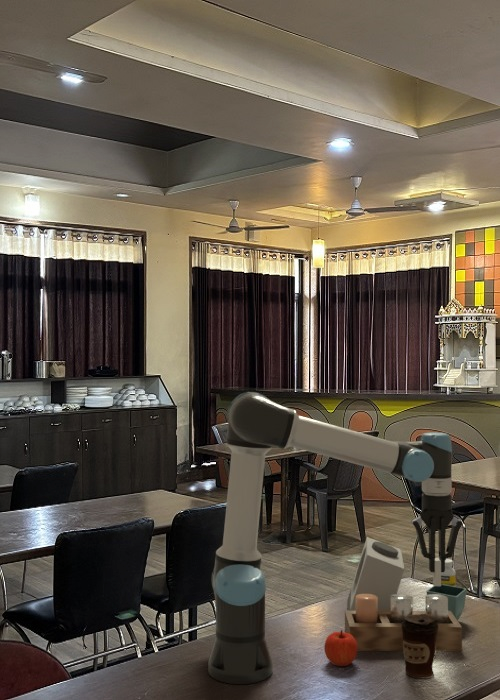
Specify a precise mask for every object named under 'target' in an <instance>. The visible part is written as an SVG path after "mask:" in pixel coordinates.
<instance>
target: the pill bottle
mask: <svg viewBox="0 0 500 700" xmlns="http://www.w3.org/2000/svg"><path fill="white" fill-rule="evenodd" d="M453 565H454V562H453V559H451V558H447V559H446V560H445V572H441V584H444V585H449V586H455V587H457V585H456V584H457V583H456V582H457V581H456V580H457V579H456V578H457V577H456V576H457V572H456V570H455V569H454V568H453Z"/></svg>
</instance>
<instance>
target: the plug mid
mask: <svg viewBox="0 0 500 700" xmlns="http://www.w3.org/2000/svg"><path fill="white" fill-rule="evenodd" d="M413 603H414V598H413V596H412V595H409V594H406V593H397V594H394V595H391V623H402V622H403V621H404V618H405V616H407V615H413V611H414V609H413V608H414V606H413V605H414V604H413Z"/></svg>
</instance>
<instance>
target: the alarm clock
mask: <svg viewBox="0 0 500 700" xmlns="http://www.w3.org/2000/svg"><path fill="white" fill-rule="evenodd" d="M402 553H403V552H402V549H400V548H398V547H395V546H392V545H390V544H388V543H385V542H383V541H382V542H381V541H380V540H377V539H374V538H370V537H369V536H366V539H365V542H364V545H363V547H362V551H361V555H360V559H359V561H358V564H357V568H356V571H355V574H354V578H353V580H352V585H351V587H350V591H349V594H348V598H347V603H346V610H351V611H356V595H359V594H372V595H375V596H377V597H378V611H391V595H394V594H398V590H399V588H400V585H401V581H402V578H403V574H404V572H405V566H404V559H403V554H402Z"/></svg>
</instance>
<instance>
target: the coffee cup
mask: <svg viewBox="0 0 500 700" xmlns="http://www.w3.org/2000/svg"><path fill="white" fill-rule="evenodd" d="M435 621H436V619H435V618H433V617H431V616H427V615H418V614H417V615H407V616H405V618H404V621H403V622H402V633H403V651H402V653H403V658H404V664H405V665H404V666H405V669H404V671H405V673H406V675H408V676H410V677H412V678H418V679H428V678H429V679H430V678H433V676H434V675H435V674H434V671H433V664H434V659H435V657H436V652H437V651H436V637H437V632H438V624H437V623H435Z"/></svg>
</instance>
